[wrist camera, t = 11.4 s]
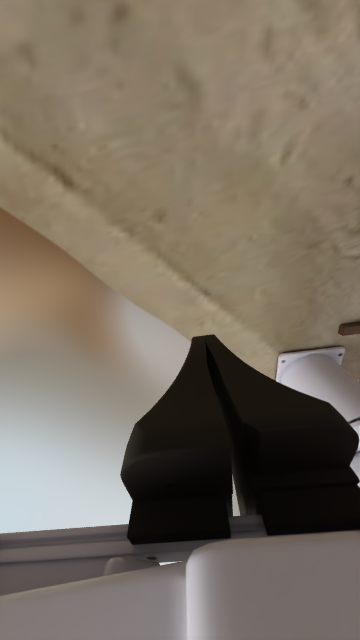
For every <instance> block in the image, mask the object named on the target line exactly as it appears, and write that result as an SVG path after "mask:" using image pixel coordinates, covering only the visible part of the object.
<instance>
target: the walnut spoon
mask: <svg viewBox="0 0 360 640" xmlns="http://www.w3.org/2000/svg"><path fill="white" fill-rule="evenodd" d="M338 333H339V334H340V335H342V336H345V335H353V334H360V322H357V323H349V324H341V325H340V328H339V331H338Z"/></svg>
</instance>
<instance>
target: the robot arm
mask: <svg viewBox="0 0 360 640" xmlns="http://www.w3.org/2000/svg"><path fill="white" fill-rule="evenodd" d="M344 353H345V349H344V348H343V347H333V348H324V349H316V350H308V351H299V352H291V353H283V354H280V355H279V357H278V366H277V374H276V381H275V380H273V379H271V378H269V377H267V376H266V375H264V374H262V373H260V372H258V371H257V370H255V369H254V368H252V367H251V366H249V365H247V364H246V363H245V362H243V361H242V360H241V359H239V358H238V357H237V356H236V355H235V354H233V353H232V352H231V351H230V350H229V349H228V348H227V347H226V346H225V345H224V344H223V343H222V342H221V341H220V340H219V339H218V338H217V337H216V336H215V335H214V334H213V335H205V336H197V337H193V338H192V342H191V346H190V351H189V353H188V355H187V358H186V360H185V362H184V365H183V367H182V368H181V370H180V372H179V374H178V376H177V377H176V379H175V380H174V382H173V384H172V385H171V386H170V387H169V389H168V390H167V391H166V393H165V394H164V395H163V396H162V397H161V399H160V400H159V401H158V402H157V403H156V404H155V405H154V406H153V408H152V409H151V410H150V411H149V412H147V413H146V414H145V415H144V416H143V417H142V418H141V419H140V420H139V421H138V422H137V423H136V424H135V426H134V428H133V431H132V433H131V436H130V439H129V441H128V444H127V448H126V452H125V456H124V460H123V465H122V470H121V474H120V475H121V479H122V482H123V483H124V485H125V487H126V489H127V491H128V493H129V494H130V496H131V498H132V500H133V502H132V509H131V514H130V520H129V524H124V525H111V526H97V527H84V528H70V529H57V530H43V531H29V532H16V533H2V534H0V640H360V382H359V381H358V380H357V379H356V378H355V377H353V376H352V375H351V374H350V373H349V372H347V371H346V370H345V369H344V368H342V367H341V362H342V359H343V356H344ZM282 360H283V361H282ZM232 474H233V479H234V484H235V489H236V495H237V500H238V505H239V510H240V516H234V517H233V509H232V494H233V485H232V484H233V482H232ZM177 561H182V562H177ZM161 562H177V563H172V564H166V565H161V566H160V564H159V563H161Z"/></svg>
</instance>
